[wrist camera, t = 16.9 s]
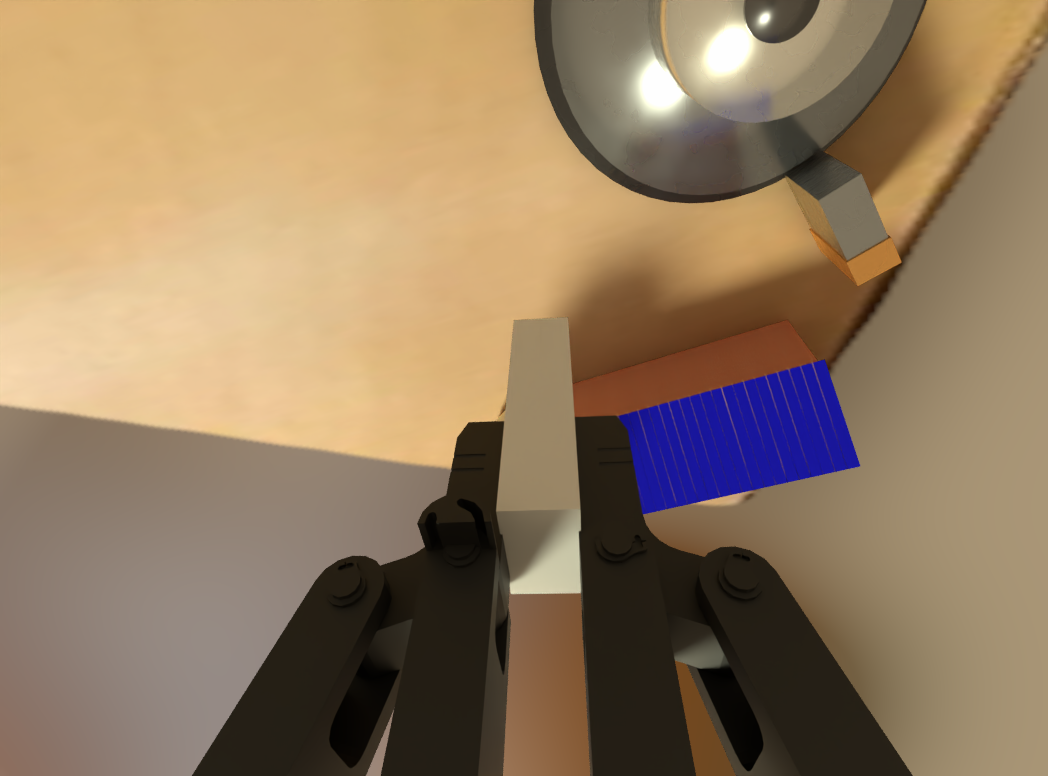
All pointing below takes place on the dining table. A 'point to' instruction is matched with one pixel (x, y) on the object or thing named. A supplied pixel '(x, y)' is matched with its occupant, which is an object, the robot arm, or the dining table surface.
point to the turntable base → (595, 157)
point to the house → (724, 417)
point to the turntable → (724, 126)
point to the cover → (761, 50)
